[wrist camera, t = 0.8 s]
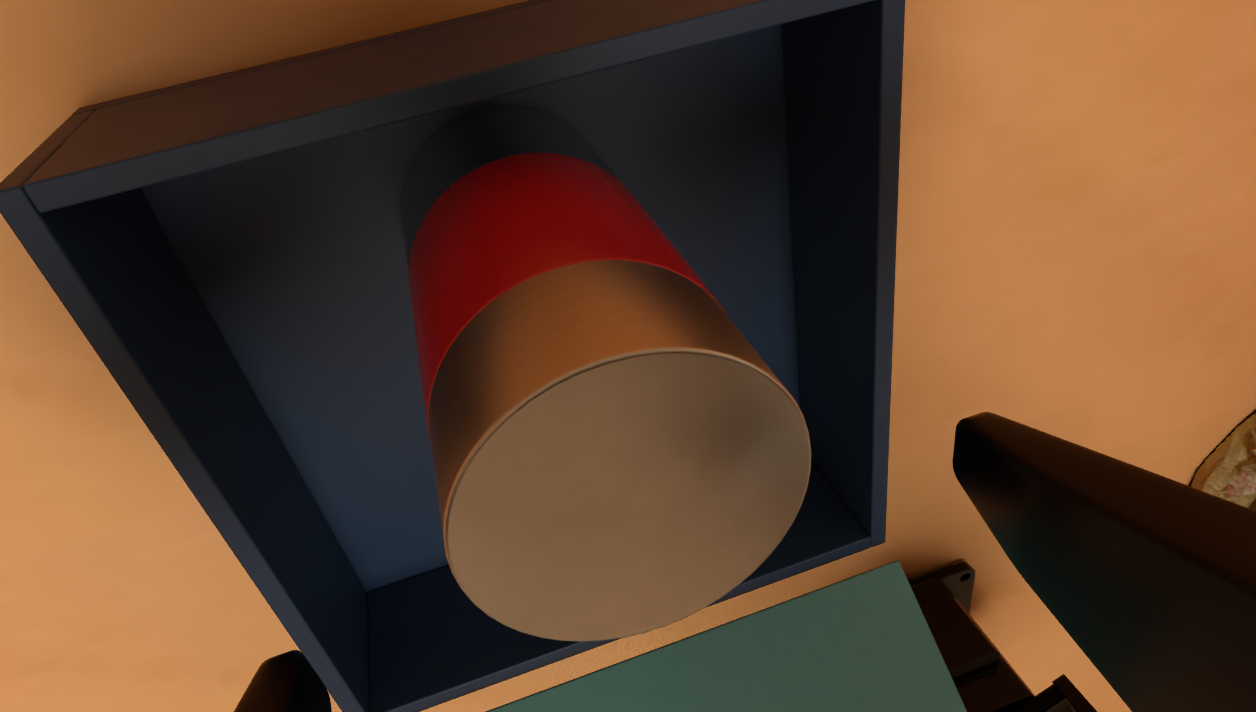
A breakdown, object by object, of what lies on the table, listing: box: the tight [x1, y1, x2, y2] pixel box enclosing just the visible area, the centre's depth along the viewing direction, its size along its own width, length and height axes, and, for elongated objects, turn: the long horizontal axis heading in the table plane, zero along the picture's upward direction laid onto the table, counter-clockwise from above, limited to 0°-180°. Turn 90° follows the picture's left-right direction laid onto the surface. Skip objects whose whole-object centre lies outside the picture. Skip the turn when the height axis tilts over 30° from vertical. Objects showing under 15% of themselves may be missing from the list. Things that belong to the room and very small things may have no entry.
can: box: [401, 106, 811, 642], centre depth 15 cm, size 5×5×11 cm
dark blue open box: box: [0, 0, 905, 712], centre depth 20 cm, size 16×16×5 cm
